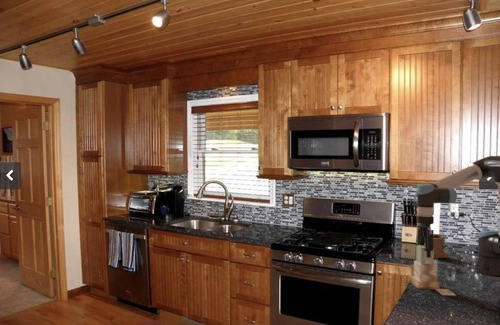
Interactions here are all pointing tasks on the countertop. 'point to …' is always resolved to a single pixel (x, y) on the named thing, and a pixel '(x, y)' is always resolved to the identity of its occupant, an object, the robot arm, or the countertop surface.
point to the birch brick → (425, 272)
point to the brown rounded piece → (439, 246)
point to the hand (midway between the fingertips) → (424, 262)
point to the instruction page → (445, 292)
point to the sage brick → (423, 254)
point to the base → (424, 284)
